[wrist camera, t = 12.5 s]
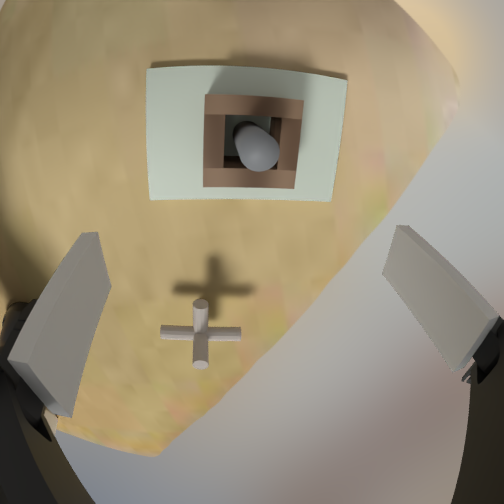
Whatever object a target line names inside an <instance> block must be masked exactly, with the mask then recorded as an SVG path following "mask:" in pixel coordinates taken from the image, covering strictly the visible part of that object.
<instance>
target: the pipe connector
mask: <svg viewBox="0 0 504 504" xmlns="http://www.w3.org/2000/svg"><path fill="white" fill-rule="evenodd" d="M208 307H209V304H208V302H207V301H206V300H204V299H197V300H195V301H194V302H193V326H173V325H161V329H160V335H161V339H173V340H193V367H194V368H196V369H206V368H207V367H208V365H209V363H208V341H241V327H208Z"/></svg>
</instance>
